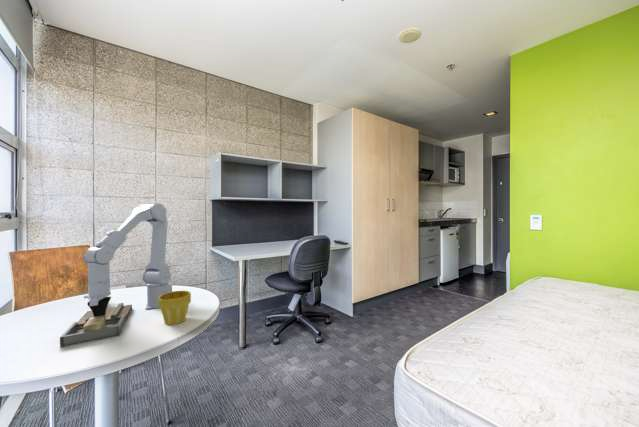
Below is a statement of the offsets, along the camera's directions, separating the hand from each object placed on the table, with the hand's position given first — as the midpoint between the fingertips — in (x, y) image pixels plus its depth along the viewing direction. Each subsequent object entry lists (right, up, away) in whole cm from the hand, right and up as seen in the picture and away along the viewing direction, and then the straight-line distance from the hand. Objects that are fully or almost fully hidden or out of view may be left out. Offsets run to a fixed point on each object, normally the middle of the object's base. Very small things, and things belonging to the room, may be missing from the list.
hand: (99, 320), depth 89 cm
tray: (+2, -3, -4) cm, 6 cm away
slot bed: (-4, -3, +7) cm, 9 cm away
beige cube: (+3, -2, -6) cm, 8 cm away
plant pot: (+24, -3, +5) cm, 24 cm away
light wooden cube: (0, 0, -1) cm, 1 cm away
